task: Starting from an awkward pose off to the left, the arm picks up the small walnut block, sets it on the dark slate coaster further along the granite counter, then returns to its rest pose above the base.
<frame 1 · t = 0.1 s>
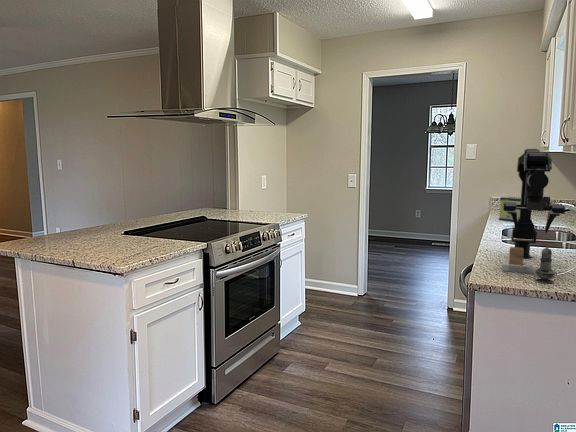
hand: (531, 231, 157), 15 cm above the worktop, tool pointing down, fingers open, 9 cm apart
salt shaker: (544, 282, 147), on the worktop
protein box: (514, 221, 293), on the worktop
slate coaster: (517, 269, 163), on the worktop
walnut block: (515, 263, 173), on the worktop
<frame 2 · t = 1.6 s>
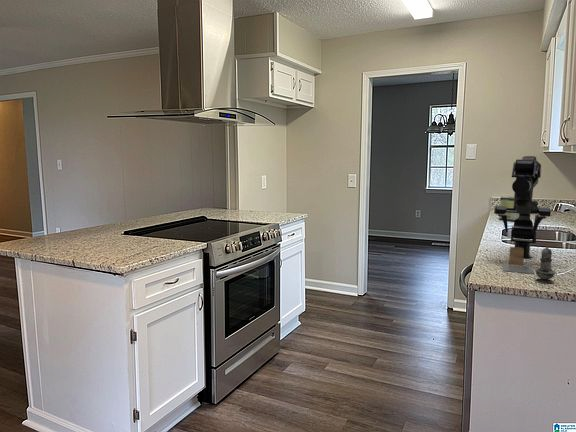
hand: (519, 233, 171), 12 cm above the worktop, tool pointing down, fingers open, 9 cm apart
nothing on the worktop moved.
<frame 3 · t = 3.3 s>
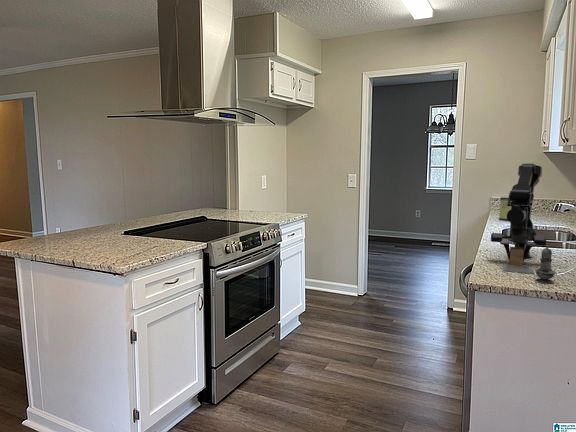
hand: (515, 260, 172), 1 cm above the worktop, tool pointing down, fingers closed on walnut block, 4 cm apart
walnut block: (515, 263, 173), on the worktop, touching gripper
everything else where it was.
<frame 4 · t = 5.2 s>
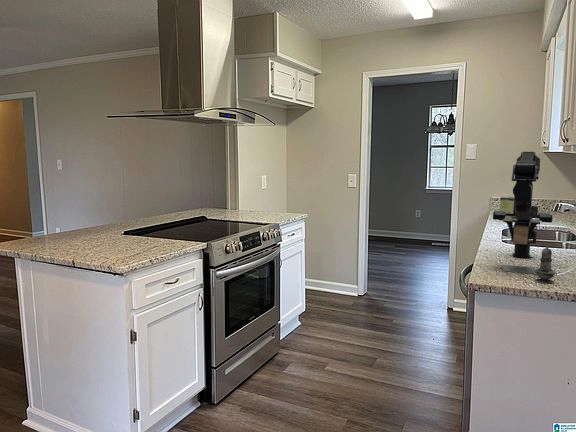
hand: (519, 240, 161), 11 cm above the worktop, tool pointing down, fingers closed on walnut block, 4 cm apart
walnut block: (519, 242, 161), point 10 cm above the worktop, touching gripper
everything else where it was.
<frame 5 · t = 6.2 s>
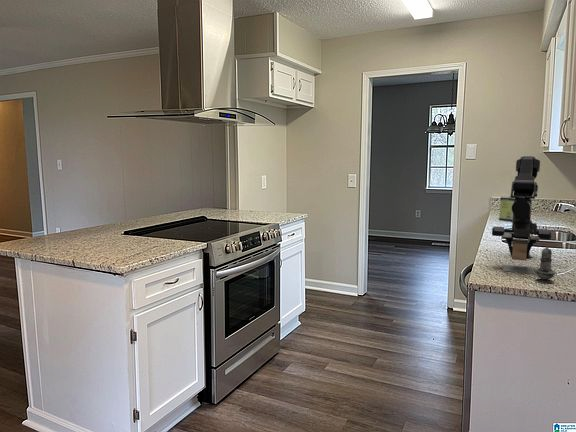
hand: (518, 256, 162), 5 cm above the worktop, tool pointing down, fingers closed on walnut block, 4 cm apart
walnut block: (518, 258, 162), point 4 cm above the worktop, touching gripper
everything else where it was.
when the fingers open (2 cm above the worktop, at t = 7.1 s): walnut block drops 1 cm, resting on slate coaster.
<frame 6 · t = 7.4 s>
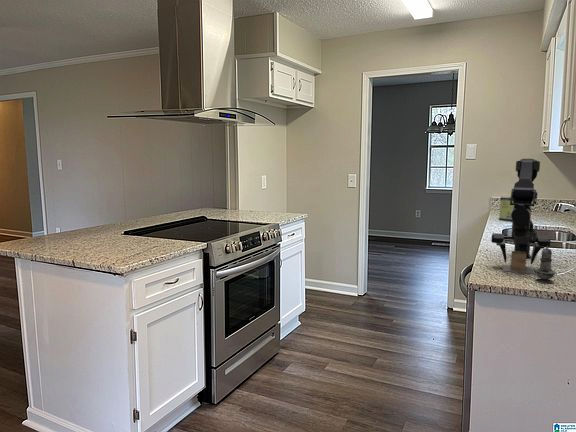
hand: (518, 263, 162), 2 cm above the worktop, tool pointing down, fingers open, 8 cm apart
walnut block: (517, 268, 162), resting on slate coaster
everything else where it was.
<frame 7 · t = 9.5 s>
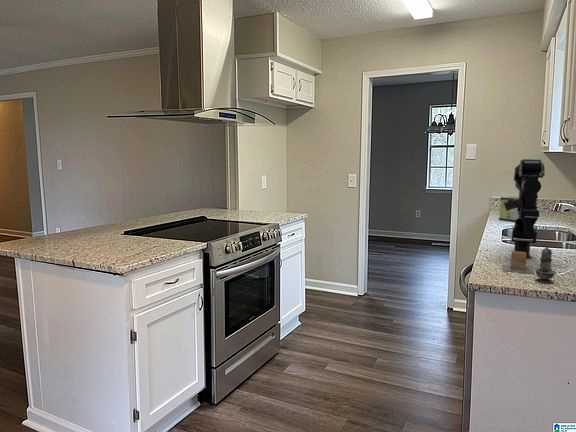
hand: (526, 232, 173), 12 cm above the worktop, tool pointing down, fingers open, 9 cm apart
nothing on the worktop moved.
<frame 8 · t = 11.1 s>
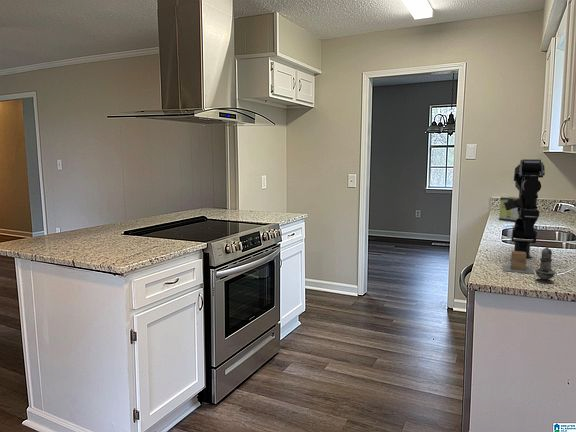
hand: (526, 232, 173), 12 cm above the worktop, tool pointing down, fingers open, 9 cm apart
nothing on the worktop moved.
at the end: walnut block inside the target area (0.0 cm from its centre), resting on slate coaster; walnut block tilted 0°; the gripper is holding nothing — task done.
